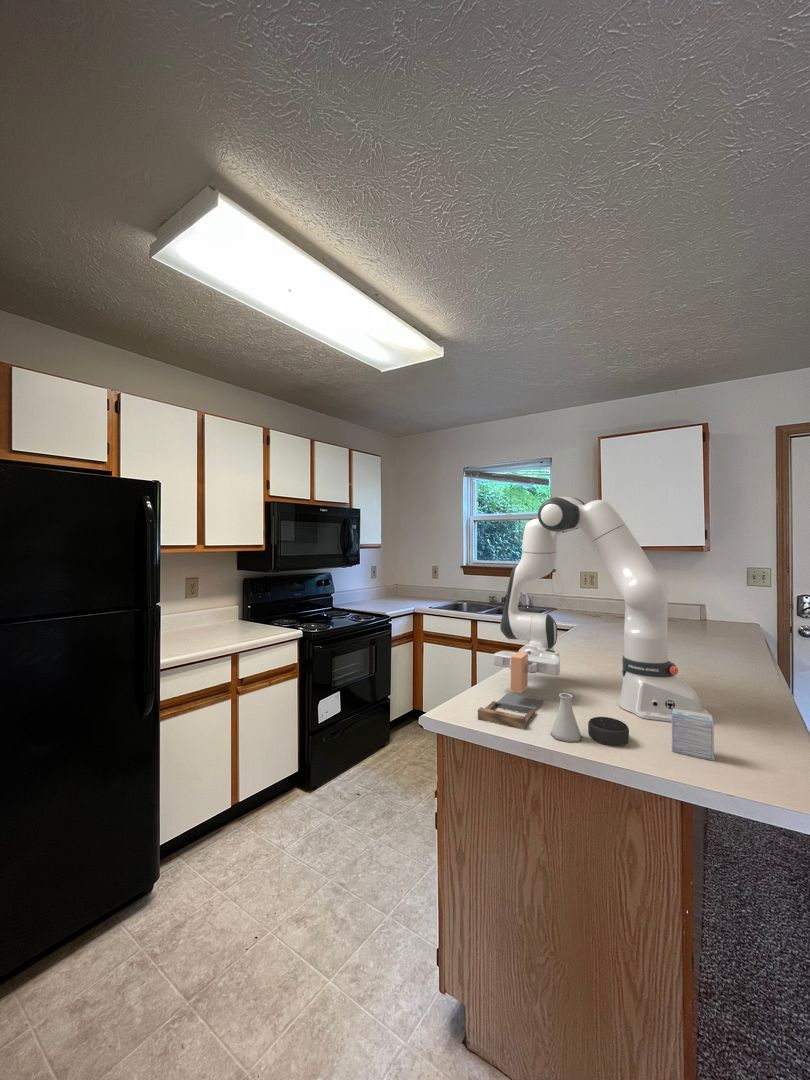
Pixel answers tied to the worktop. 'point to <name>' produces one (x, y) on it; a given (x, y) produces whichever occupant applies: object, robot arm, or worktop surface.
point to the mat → (521, 701)
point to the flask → (566, 721)
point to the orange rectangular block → (519, 672)
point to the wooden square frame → (506, 715)
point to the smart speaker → (608, 731)
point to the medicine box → (692, 734)
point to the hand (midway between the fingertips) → (519, 668)
